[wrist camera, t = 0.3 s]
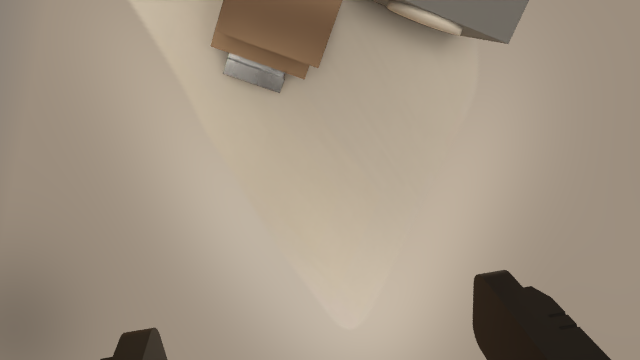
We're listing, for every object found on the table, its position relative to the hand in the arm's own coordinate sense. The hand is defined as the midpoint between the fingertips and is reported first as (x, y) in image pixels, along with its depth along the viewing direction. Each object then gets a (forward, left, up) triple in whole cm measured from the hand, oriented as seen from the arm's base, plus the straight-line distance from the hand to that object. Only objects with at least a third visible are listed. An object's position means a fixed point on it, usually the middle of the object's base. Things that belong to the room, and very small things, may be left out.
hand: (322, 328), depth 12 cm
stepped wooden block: (-7, -2, -25) cm, 26 cm away
